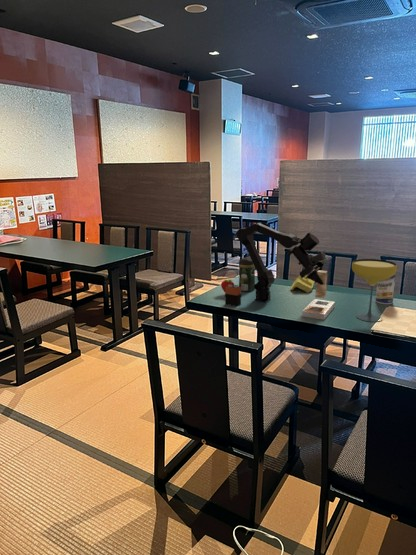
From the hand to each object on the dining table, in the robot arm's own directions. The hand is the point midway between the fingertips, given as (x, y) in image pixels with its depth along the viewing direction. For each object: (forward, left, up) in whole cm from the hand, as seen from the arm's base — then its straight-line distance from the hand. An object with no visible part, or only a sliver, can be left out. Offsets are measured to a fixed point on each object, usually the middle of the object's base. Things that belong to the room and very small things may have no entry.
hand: (324, 283), depth 187 cm
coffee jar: (-46, +17, -14) cm, 51 cm away
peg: (-1, 0, -7) cm, 7 cm away
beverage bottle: (+24, +28, -14) cm, 39 cm away
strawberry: (-51, +3, -14) cm, 53 cm away
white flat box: (-1, -1, -13) cm, 14 cm away
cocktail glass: (+21, 0, -14) cm, 25 cm away
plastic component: (-20, +36, -14) cm, 43 cm away
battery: (-41, -11, -14) cm, 45 cm away
